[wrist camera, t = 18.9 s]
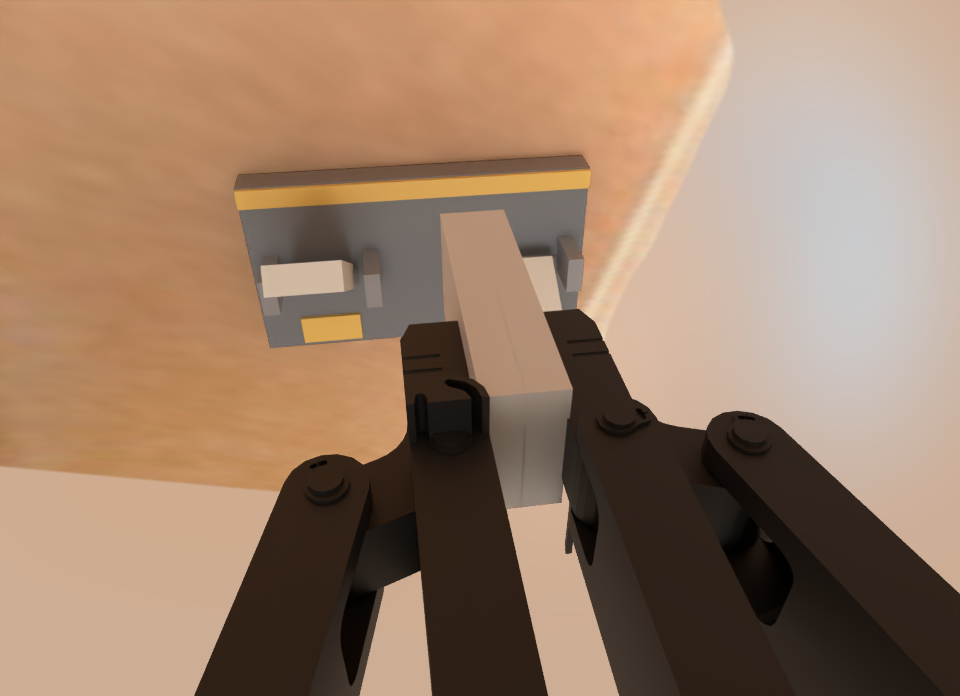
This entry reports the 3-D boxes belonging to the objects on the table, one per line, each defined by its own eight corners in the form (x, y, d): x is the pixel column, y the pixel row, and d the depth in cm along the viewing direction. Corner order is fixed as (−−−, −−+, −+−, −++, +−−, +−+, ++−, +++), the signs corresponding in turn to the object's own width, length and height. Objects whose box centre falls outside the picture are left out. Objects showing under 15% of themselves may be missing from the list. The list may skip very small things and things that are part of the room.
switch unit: (272, 331, 51) (265, 376, 47) (238, 175, 44) (226, 211, 39) (568, 307, 53) (586, 347, 49) (581, 155, 46) (604, 187, 42)
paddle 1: (288, 293, 46) (257, 298, 35) (286, 268, 45) (254, 266, 35) (360, 288, 46) (350, 291, 36) (358, 263, 46) (347, 259, 35)
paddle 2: (484, 265, 47) (505, 414, 43) (486, 253, 46) (508, 406, 42) (551, 260, 48) (578, 407, 44) (555, 248, 46) (583, 399, 42)
